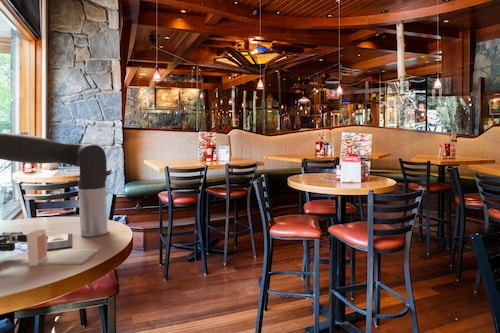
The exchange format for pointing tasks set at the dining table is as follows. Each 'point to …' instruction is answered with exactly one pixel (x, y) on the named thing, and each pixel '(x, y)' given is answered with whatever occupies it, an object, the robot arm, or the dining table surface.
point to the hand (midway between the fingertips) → (23, 242)
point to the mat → (69, 256)
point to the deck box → (36, 247)
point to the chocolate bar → (59, 242)
